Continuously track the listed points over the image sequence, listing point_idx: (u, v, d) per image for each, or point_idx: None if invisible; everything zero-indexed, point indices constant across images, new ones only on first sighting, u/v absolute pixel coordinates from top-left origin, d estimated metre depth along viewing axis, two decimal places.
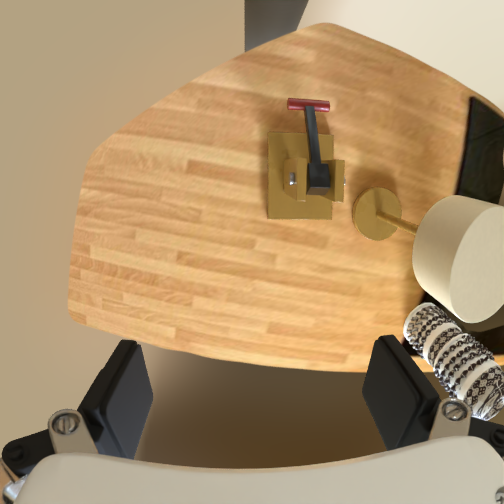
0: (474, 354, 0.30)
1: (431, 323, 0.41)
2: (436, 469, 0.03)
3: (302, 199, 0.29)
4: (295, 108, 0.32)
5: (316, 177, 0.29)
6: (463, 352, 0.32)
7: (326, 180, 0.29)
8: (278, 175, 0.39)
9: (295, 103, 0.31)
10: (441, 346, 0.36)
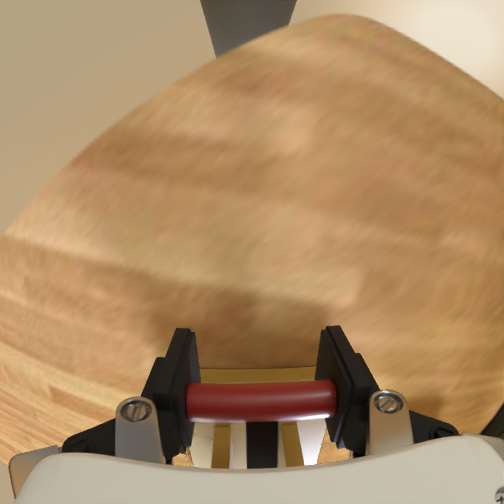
0: None
1: None
2: (436, 469, 0.03)
3: None
4: None
5: None
6: None
7: None
8: (207, 444, 0.16)
9: (208, 419, 0.08)
10: None
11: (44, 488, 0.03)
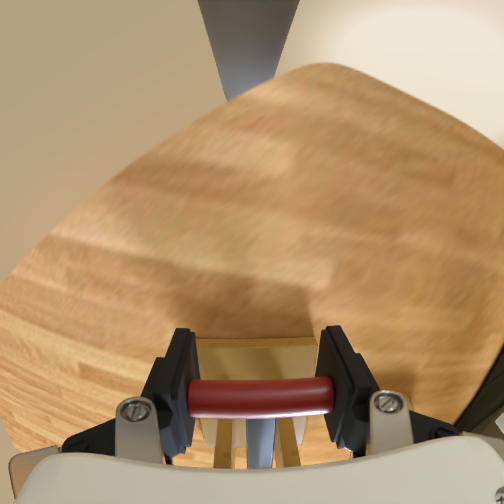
0: None
1: None
2: (436, 469, 0.03)
3: None
4: None
5: None
6: None
7: None
8: None
9: None
10: None
11: (44, 488, 0.03)
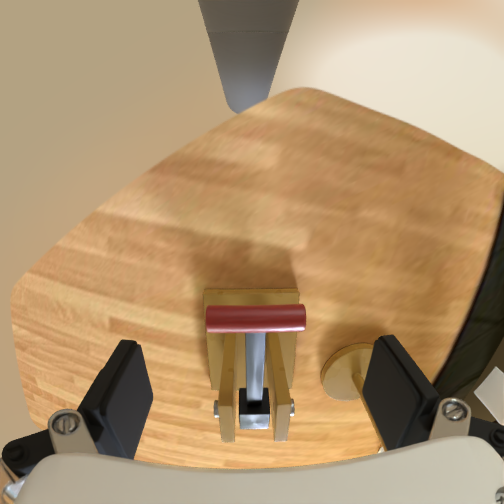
0: None
1: None
2: (436, 469, 0.03)
3: (229, 441, 0.19)
4: None
5: (249, 423, 0.19)
6: None
7: (263, 425, 0.19)
8: (220, 347, 0.29)
9: (221, 332, 0.15)
10: None
11: (44, 488, 0.03)
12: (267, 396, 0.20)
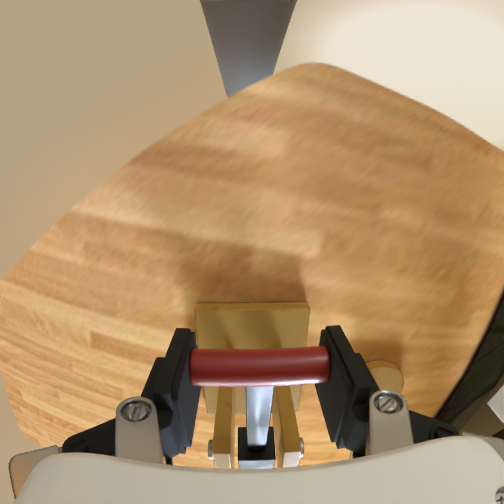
0: None
1: None
2: (436, 469, 0.03)
3: None
4: None
5: (250, 467, 0.15)
6: None
7: (267, 467, 0.15)
8: None
9: (212, 386, 0.10)
10: None
11: (44, 488, 0.03)
12: (272, 438, 0.15)
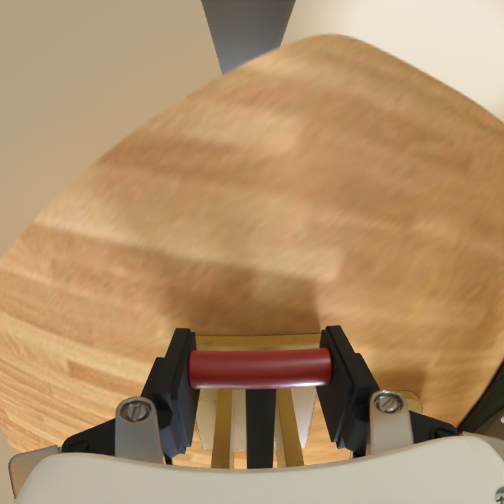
0: None
1: None
2: (436, 469, 0.03)
3: None
4: None
5: None
6: None
7: None
8: (211, 408, 0.19)
9: (210, 387, 0.09)
10: None
11: (44, 488, 0.03)
12: None
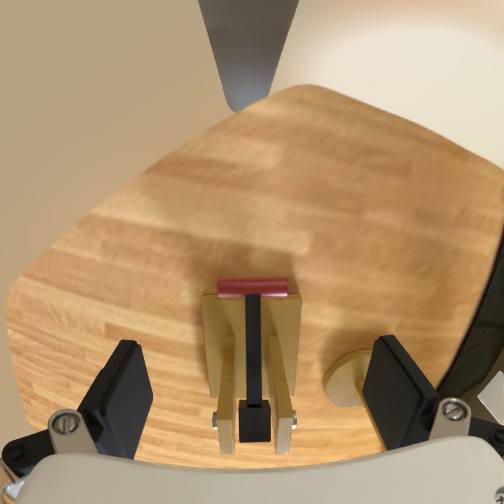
0: None
1: None
2: (436, 469, 0.03)
3: (229, 453, 0.18)
4: (229, 297, 0.21)
5: (249, 429, 0.18)
6: None
7: (264, 433, 0.18)
8: (219, 354, 0.27)
9: (227, 292, 0.21)
10: None
11: (44, 488, 0.03)
12: (267, 402, 0.20)
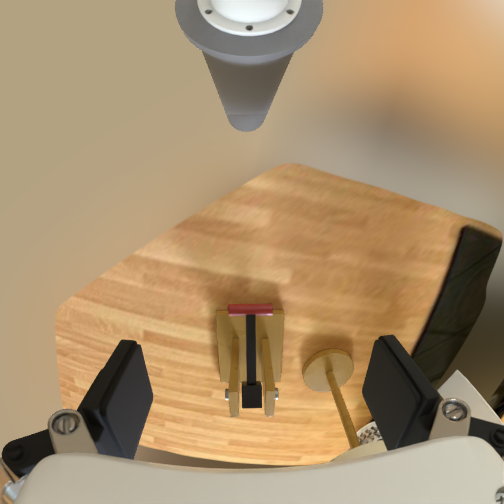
0: None
1: None
2: (436, 469, 0.03)
3: (235, 416, 0.30)
4: None
5: (248, 399, 0.30)
6: None
7: (258, 401, 0.30)
8: (227, 351, 0.39)
9: (234, 313, 0.33)
10: None
11: (44, 488, 0.03)
12: (260, 382, 0.32)
